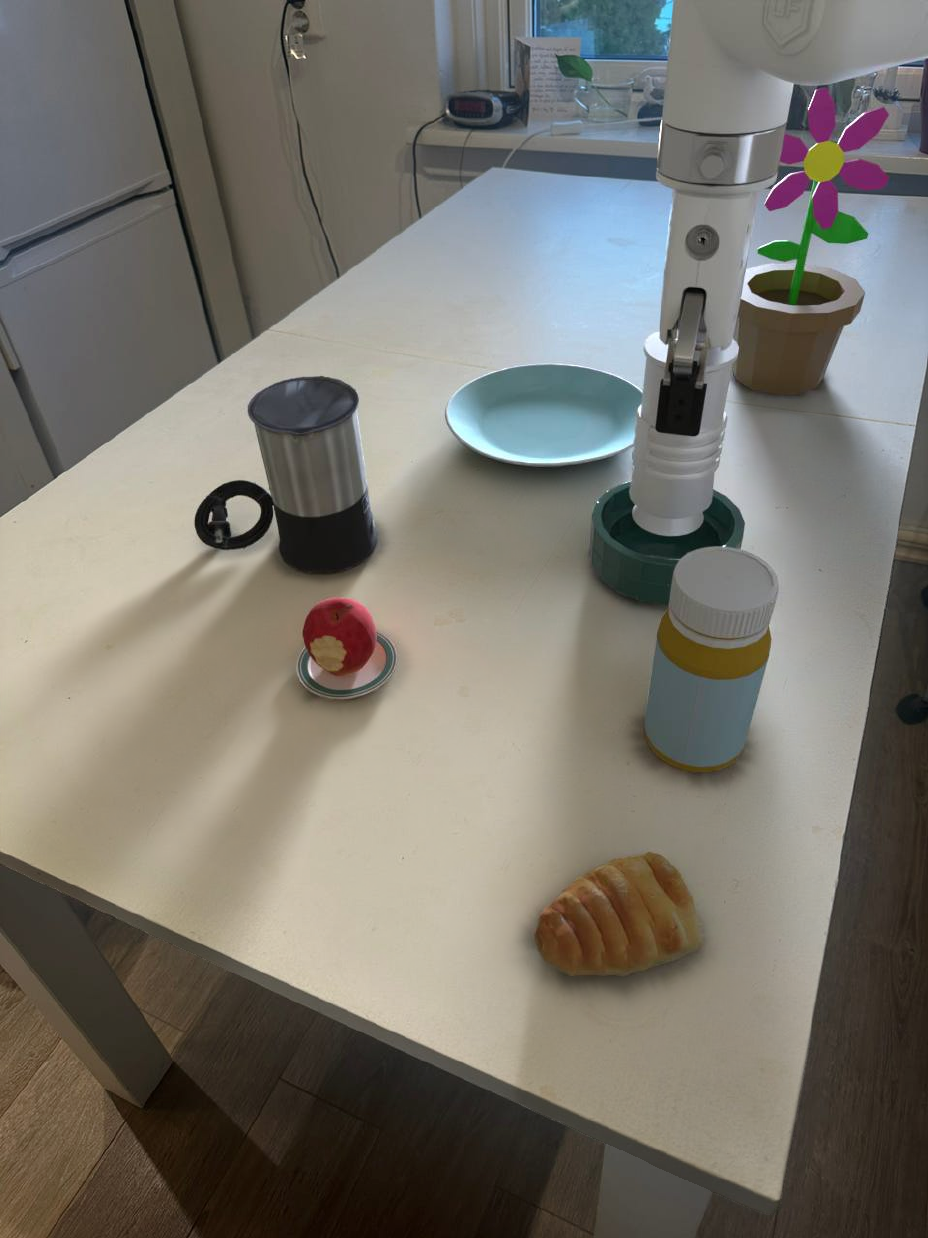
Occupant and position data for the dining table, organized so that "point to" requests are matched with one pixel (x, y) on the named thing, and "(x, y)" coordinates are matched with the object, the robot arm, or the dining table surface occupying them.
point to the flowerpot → (796, 292)
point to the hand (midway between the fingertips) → (683, 407)
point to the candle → (678, 447)
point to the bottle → (710, 658)
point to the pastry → (620, 919)
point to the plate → (545, 415)
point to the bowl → (652, 544)
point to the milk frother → (303, 479)
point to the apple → (344, 651)
